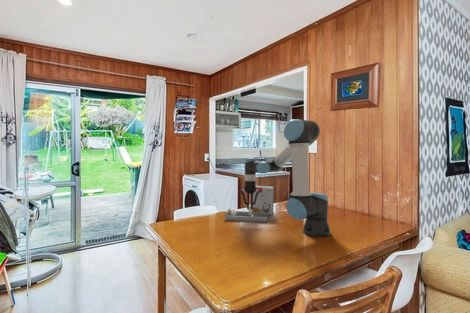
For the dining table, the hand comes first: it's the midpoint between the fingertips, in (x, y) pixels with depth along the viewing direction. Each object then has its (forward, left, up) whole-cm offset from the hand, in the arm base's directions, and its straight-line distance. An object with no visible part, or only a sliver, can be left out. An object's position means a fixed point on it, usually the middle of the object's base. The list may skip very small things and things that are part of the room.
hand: (249, 214), depth 177 cm
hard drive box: (-8, -17, -3) cm, 19 cm away
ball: (+12, -1, 0) cm, 12 cm away
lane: (+2, 0, -3) cm, 4 cm away
